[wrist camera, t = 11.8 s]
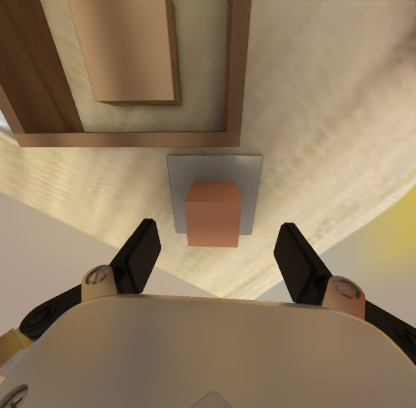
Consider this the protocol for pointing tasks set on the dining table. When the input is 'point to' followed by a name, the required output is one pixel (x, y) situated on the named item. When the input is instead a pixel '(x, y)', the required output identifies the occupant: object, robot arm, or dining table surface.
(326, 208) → the dining table surface
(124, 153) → the dining table surface
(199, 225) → the block
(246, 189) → the pad
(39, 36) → the crate
